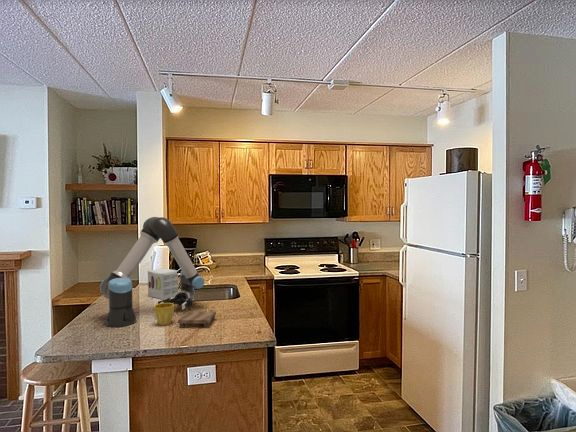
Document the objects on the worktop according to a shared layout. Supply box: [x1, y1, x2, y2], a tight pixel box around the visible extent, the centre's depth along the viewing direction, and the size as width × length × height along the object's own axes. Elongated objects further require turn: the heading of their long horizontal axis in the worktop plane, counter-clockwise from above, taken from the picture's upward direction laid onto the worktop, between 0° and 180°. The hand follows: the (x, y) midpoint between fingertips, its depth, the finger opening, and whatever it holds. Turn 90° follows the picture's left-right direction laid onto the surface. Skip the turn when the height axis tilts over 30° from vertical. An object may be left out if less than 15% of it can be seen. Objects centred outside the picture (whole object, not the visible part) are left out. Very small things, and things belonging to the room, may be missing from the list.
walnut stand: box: [177, 310, 217, 328], centre depth 204 cm, size 16×16×4 cm
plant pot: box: [153, 303, 175, 326], centre depth 204 cm, size 10×10×10 cm
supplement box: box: [147, 267, 179, 300], centre depth 266 cm, size 17×13×18 cm
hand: (170, 307), depth 214 cm, fingers open, 13 cm apart
